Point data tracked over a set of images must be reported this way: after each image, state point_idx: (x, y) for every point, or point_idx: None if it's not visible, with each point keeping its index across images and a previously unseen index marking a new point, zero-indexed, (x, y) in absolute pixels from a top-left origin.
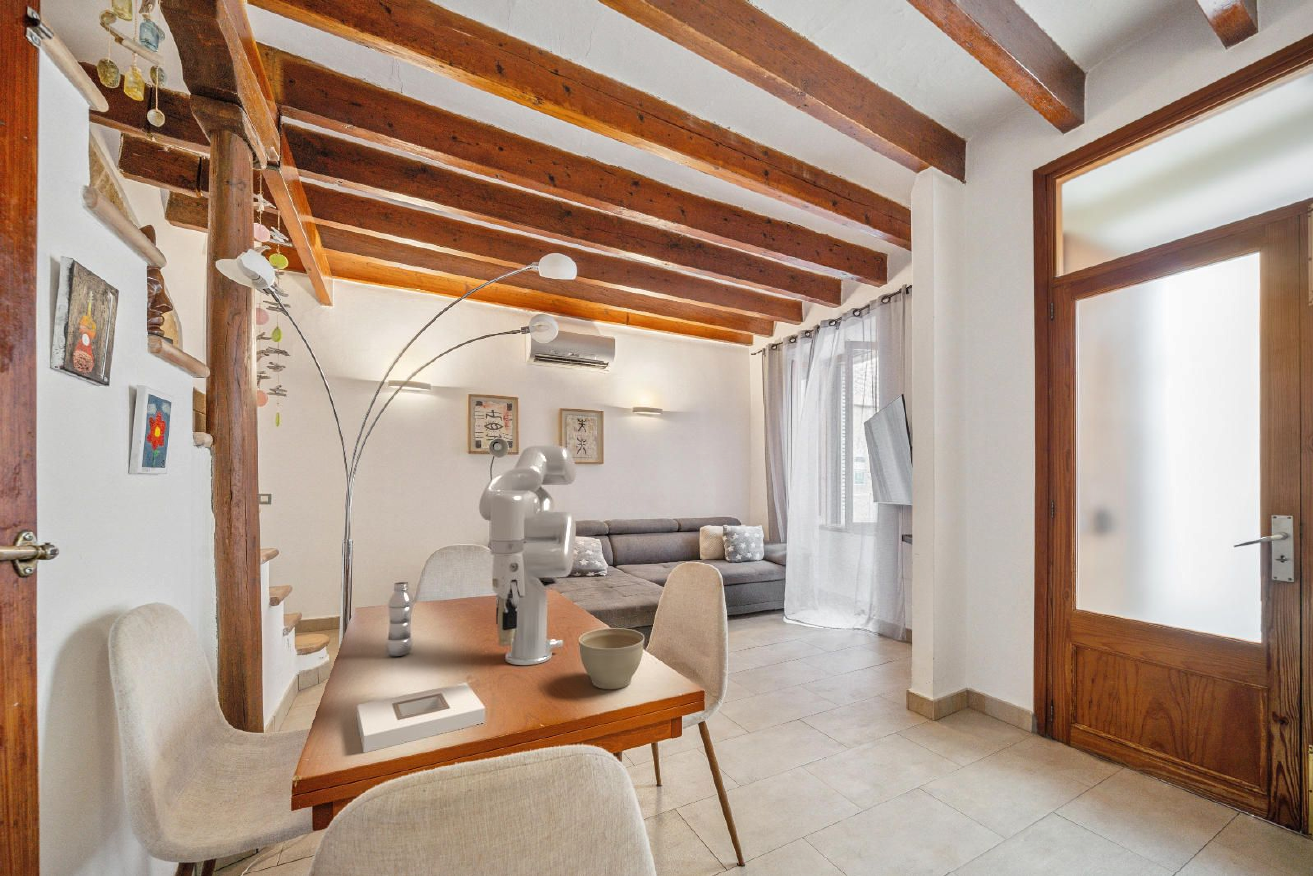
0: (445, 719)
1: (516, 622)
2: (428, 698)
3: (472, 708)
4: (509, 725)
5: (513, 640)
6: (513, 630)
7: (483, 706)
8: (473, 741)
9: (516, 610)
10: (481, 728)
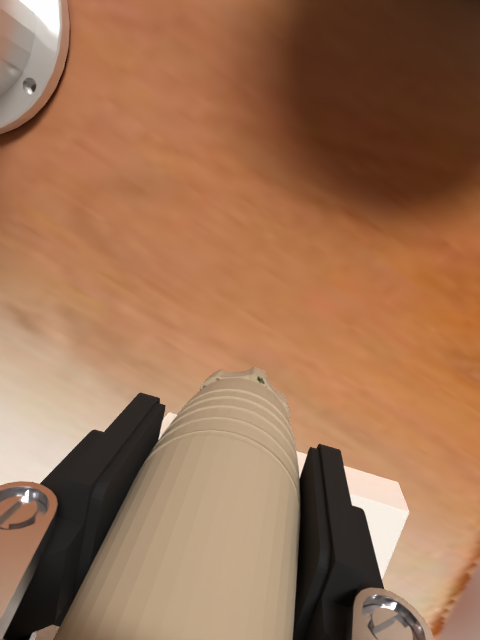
0: None
1: (342, 477)
2: None
3: (376, 537)
4: (475, 446)
5: (266, 377)
6: (291, 431)
7: (393, 509)
8: (473, 561)
9: (419, 628)
10: (419, 506)
